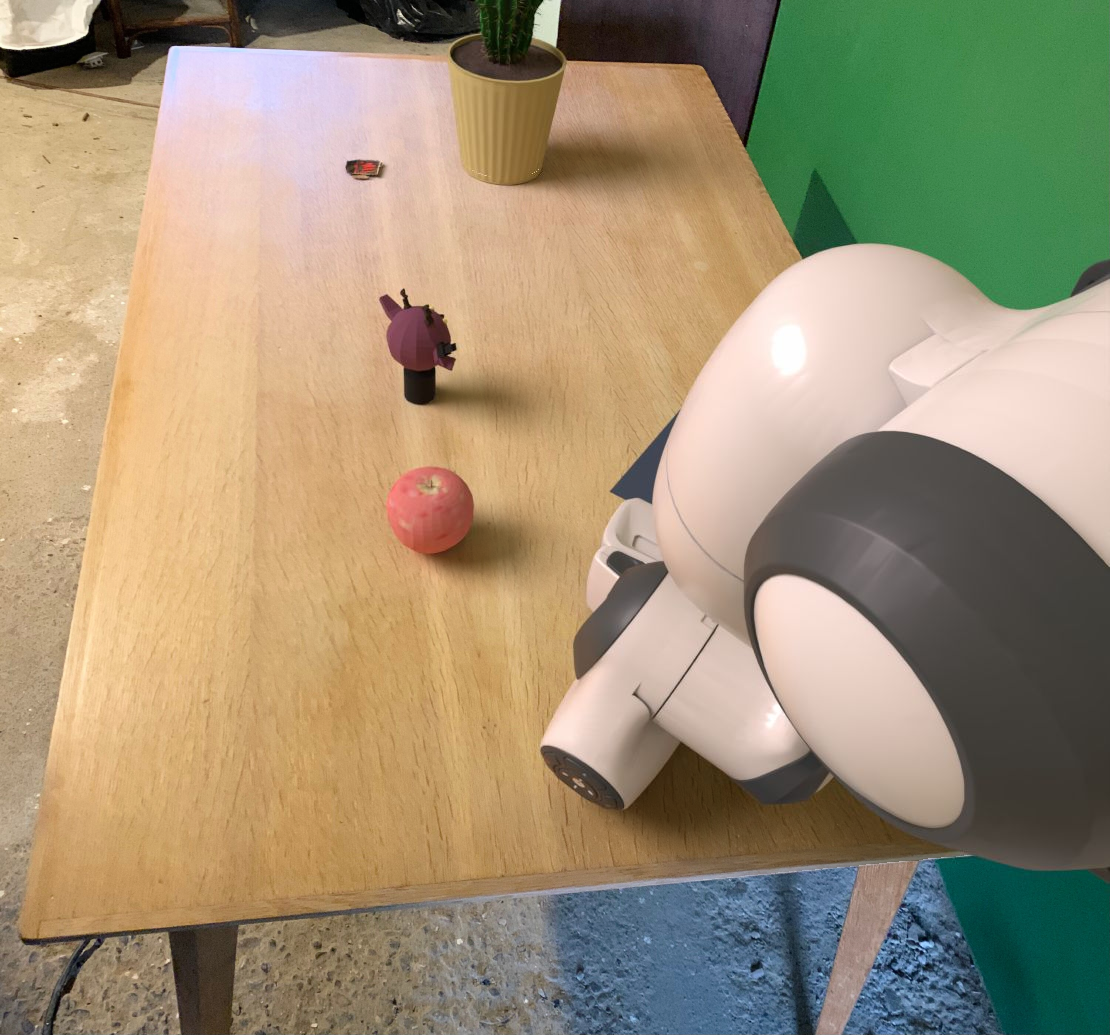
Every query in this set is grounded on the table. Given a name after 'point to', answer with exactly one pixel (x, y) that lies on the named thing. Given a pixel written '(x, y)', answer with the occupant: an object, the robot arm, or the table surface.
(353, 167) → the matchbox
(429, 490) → the apple
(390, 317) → the figurine
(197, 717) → the table surface
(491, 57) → the potted cactus
